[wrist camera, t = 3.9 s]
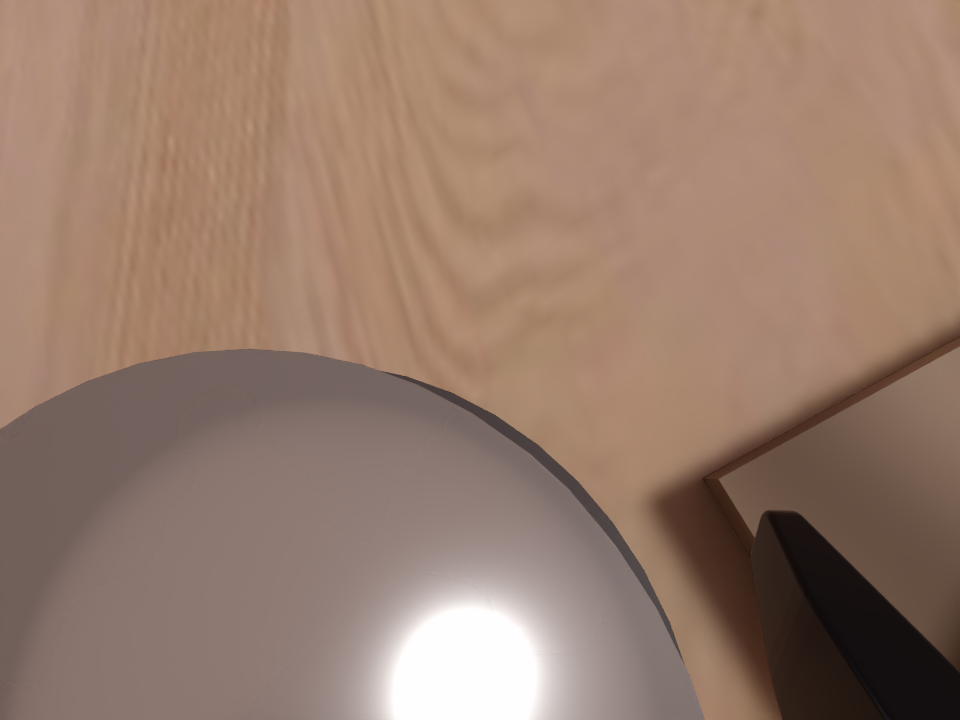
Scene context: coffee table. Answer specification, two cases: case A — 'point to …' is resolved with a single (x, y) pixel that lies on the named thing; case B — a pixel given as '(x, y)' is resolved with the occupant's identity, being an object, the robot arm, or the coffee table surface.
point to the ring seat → (873, 489)
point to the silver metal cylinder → (310, 557)
